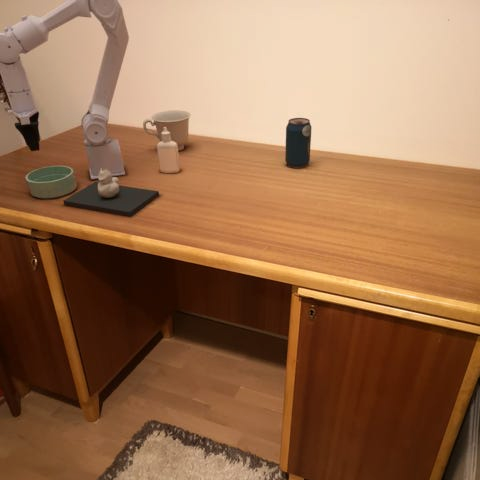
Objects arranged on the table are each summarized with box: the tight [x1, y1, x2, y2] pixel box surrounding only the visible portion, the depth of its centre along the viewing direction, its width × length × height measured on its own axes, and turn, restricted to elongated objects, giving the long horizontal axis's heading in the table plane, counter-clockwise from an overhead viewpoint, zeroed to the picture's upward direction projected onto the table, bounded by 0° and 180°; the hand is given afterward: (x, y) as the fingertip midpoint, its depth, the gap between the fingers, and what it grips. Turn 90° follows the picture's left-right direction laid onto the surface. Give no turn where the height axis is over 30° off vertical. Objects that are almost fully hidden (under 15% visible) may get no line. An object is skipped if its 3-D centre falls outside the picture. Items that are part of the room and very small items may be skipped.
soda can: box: [284, 117, 313, 169], centre depth 129 cm, size 7×7×12 cm
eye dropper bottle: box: [156, 127, 181, 174], centre depth 129 cm, size 4×6×12 cm
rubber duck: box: [97, 167, 120, 198], centre depth 115 cm, size 5×7×8 cm
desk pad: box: [63, 181, 160, 218], centre depth 117 cm, size 20×13×1 cm, turn 66°
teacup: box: [142, 109, 192, 152], centre depth 144 cm, size 12×15×10 cm
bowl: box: [25, 165, 78, 200], centre depth 123 cm, size 12×12×4 cm
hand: (35, 146), depth 123 cm, fingers open, 7 cm apart
